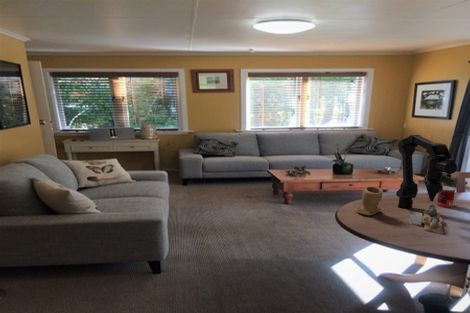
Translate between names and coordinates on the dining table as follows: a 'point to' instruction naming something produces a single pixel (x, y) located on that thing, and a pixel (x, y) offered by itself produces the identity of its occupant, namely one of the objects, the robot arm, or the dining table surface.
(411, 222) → the block
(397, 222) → the dining table surface
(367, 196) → the stone cup
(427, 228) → the shaft bench
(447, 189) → the canned food
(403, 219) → the dining table surface
